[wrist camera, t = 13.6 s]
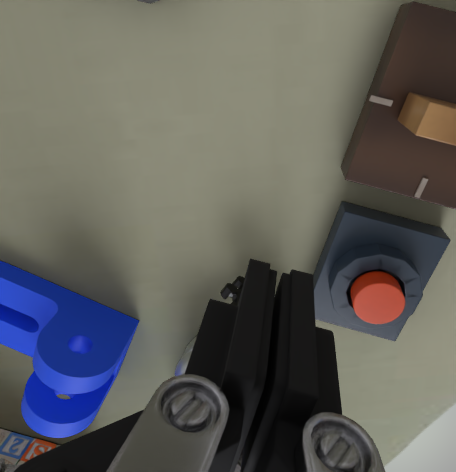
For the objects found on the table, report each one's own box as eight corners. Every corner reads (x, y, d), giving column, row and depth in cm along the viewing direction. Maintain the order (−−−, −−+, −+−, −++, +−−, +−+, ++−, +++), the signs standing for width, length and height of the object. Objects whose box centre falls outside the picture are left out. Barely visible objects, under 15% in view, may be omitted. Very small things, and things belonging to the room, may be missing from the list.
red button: (360, 264, 30) (364, 277, 29) (408, 278, 30) (414, 291, 28) (343, 303, 32) (345, 316, 30) (388, 315, 32) (393, 330, 30)
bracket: (139, 320, 40) (100, 390, 32) (117, 375, 44) (77, 449, 36) (-32, 246, 40) (-115, 299, 32) (-40, 308, 43) (-116, 369, 35)
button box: (341, 200, 32) (347, 221, 28) (441, 227, 32) (459, 251, 28) (302, 301, 37) (303, 329, 33) (390, 325, 36) (400, 356, 33)
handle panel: (395, 3, 26) (407, -1, 23) (562, 45, 26) (594, 46, 23) (335, 166, 31) (339, 179, 28) (474, 203, 31) (492, 220, 28)
